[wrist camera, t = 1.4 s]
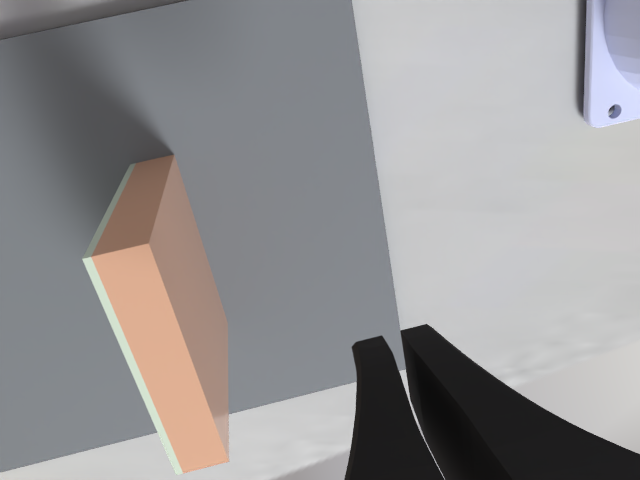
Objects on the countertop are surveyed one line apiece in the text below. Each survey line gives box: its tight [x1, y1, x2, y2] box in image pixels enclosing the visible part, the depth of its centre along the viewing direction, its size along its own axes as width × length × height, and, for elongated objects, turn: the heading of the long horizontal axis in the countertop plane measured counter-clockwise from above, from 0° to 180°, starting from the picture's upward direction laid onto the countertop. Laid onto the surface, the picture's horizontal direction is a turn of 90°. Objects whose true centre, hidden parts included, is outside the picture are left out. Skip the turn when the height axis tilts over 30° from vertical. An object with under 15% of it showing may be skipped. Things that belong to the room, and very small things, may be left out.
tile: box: [82, 155, 229, 475], centre depth 17 cm, size 2×7×7 cm, turn 11°
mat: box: [0, 0, 406, 472], centre depth 20 cm, size 18×16×1 cm
